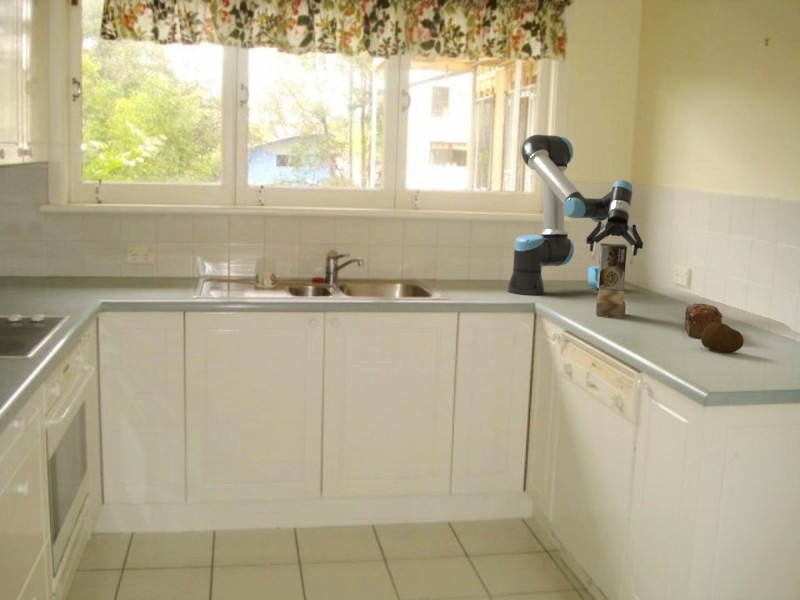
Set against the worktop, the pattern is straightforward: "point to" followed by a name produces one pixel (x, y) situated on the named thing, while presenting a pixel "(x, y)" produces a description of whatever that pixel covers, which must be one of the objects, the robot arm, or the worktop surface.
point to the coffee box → (612, 266)
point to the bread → (700, 318)
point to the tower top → (610, 296)
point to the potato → (721, 338)
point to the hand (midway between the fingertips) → (611, 259)
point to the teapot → (593, 276)
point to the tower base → (610, 310)
